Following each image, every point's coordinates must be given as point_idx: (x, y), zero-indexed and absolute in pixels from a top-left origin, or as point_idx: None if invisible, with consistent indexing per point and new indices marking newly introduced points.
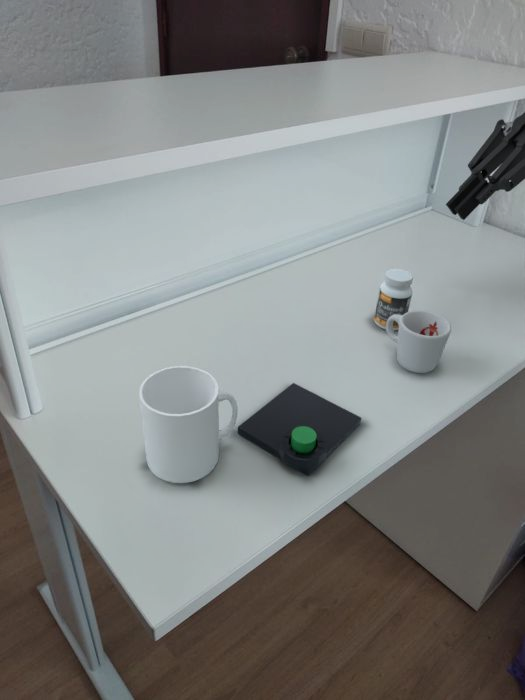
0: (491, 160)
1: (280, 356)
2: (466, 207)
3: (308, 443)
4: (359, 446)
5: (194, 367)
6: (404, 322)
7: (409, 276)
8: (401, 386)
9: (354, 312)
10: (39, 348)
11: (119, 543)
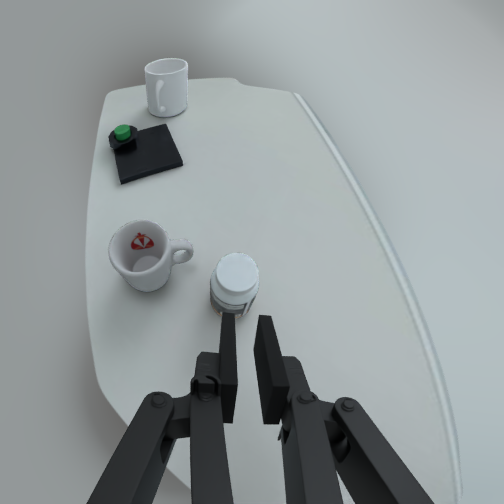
0: (297, 453)
1: (227, 177)
2: (220, 339)
3: (115, 128)
4: (107, 174)
5: (178, 71)
6: (160, 235)
7: (226, 282)
8: None
9: (270, 277)
10: (297, 94)
11: (143, 88)
